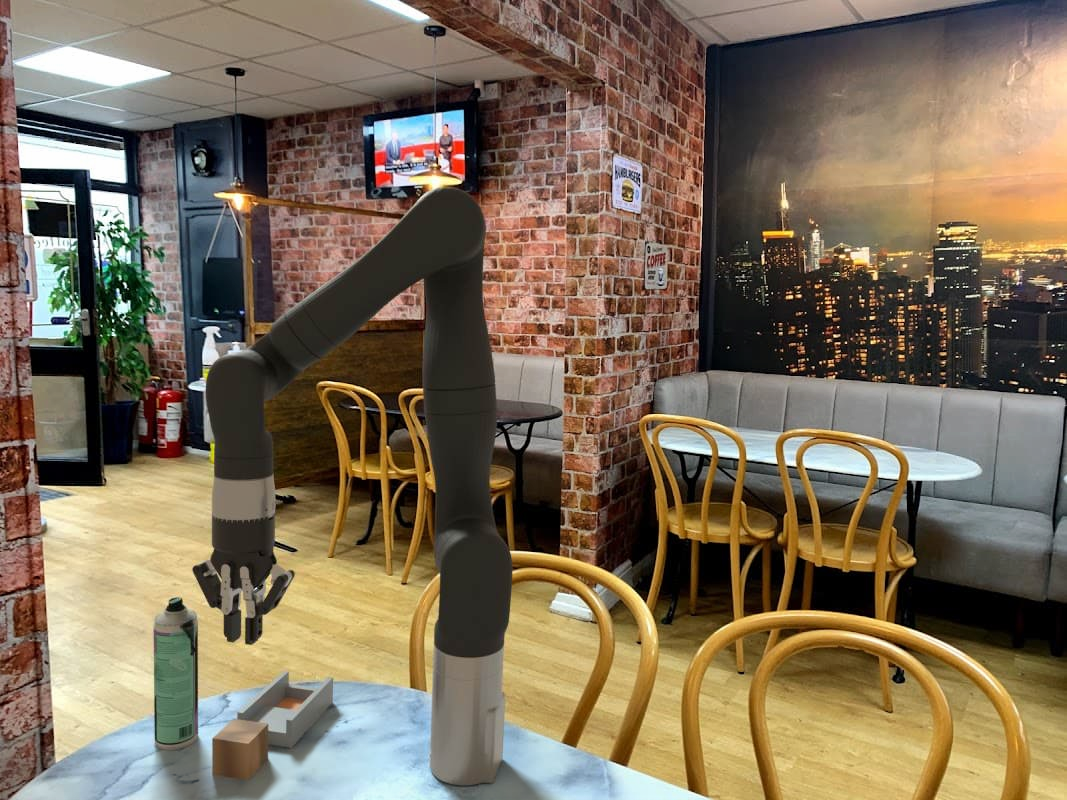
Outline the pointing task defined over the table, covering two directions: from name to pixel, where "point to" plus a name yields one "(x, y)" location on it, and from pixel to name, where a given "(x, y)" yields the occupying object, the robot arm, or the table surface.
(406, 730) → the table surface
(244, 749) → the walnut block
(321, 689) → the channel
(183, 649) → the spray can
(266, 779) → the table surface
